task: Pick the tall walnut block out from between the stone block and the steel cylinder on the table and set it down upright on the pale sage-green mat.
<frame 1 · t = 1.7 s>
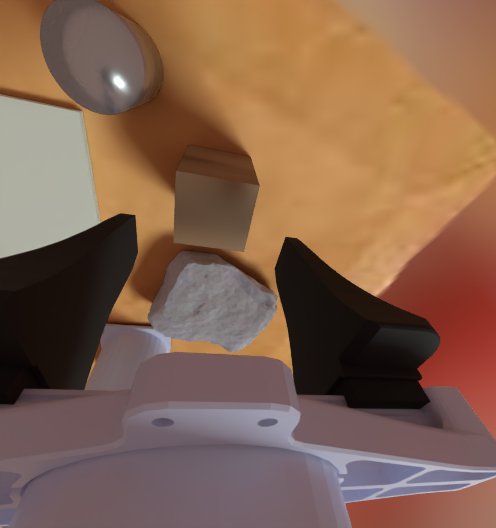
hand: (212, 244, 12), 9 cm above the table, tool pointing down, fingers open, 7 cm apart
steel cylinder: (128, 64, 15), on the table
walnut block: (216, 181, 19), on the table
stone block: (218, 289, 27), on the table
sage mat: (35, 223, 20), on the table
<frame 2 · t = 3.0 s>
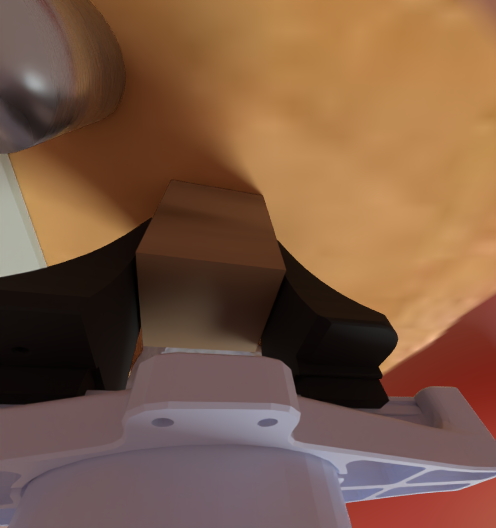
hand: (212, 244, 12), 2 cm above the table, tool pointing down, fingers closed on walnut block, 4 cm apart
steel cylinder: (65, 58, 9), on the table
walnut block: (213, 227, 13), on the table, touching gripper
stone block: (213, 352, 21), on the table
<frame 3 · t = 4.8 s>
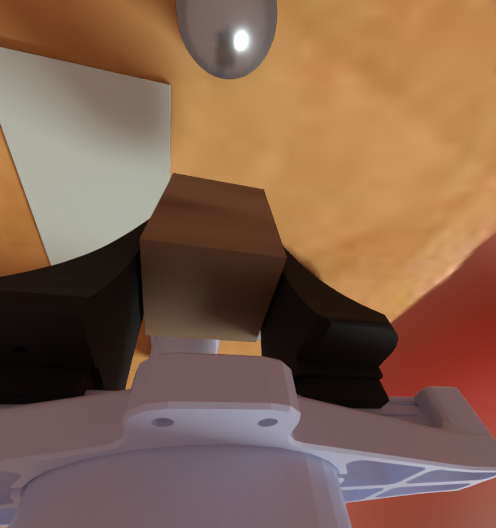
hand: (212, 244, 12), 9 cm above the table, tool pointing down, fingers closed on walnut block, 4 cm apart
steel cylinder: (226, 32, 14), on the table
walnut block: (214, 221, 14), point 7 cm above the table, touching gripper
sage mat: (104, 208, 20), on the table
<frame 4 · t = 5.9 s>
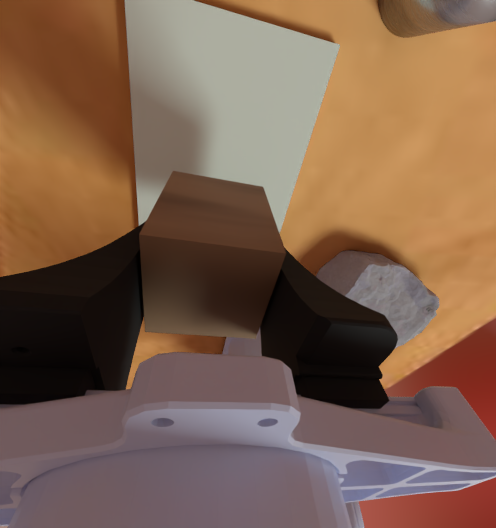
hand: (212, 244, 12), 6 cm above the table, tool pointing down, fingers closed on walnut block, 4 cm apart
walnut block: (214, 219, 14), point 4 cm above the table, touching gripper
stone block: (358, 292, 25), on the table
sage mat: (215, 196, 17), on the table
when the fingers open (3 cm above the table, at t = 6.8 s): walnut block stays where it is, resting on sage mat.
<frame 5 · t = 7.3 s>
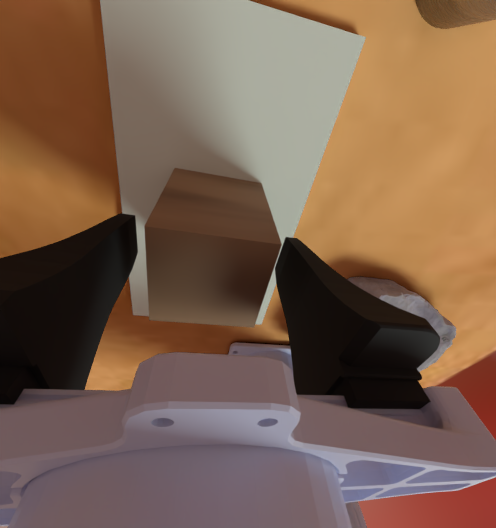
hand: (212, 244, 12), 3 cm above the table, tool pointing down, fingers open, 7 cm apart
walnut block: (214, 214, 14), resting on sage mat
stone block: (366, 317, 23), on the table
sage mat: (214, 214, 15), on the table
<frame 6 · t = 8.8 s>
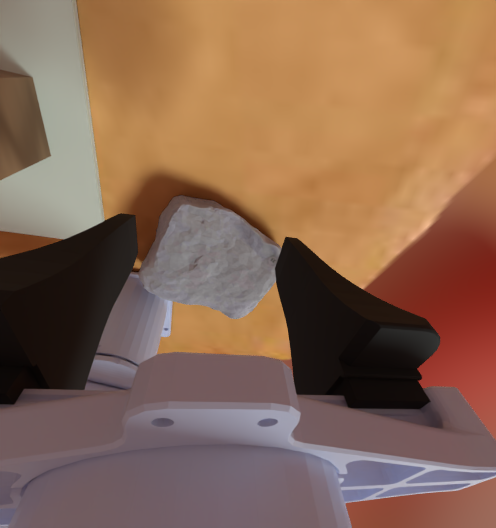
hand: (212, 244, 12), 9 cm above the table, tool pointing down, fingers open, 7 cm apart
walnut block: (2, 111, 16), resting on sage mat
stone block: (217, 247, 24), on the table
sage mat: (9, 114, 16), on the table
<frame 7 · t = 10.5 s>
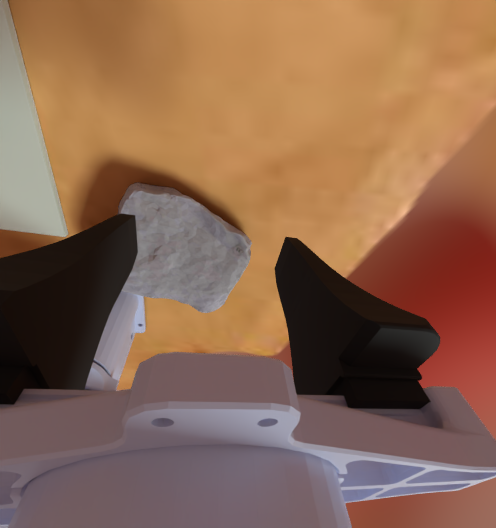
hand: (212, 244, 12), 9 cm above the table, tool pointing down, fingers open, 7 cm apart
stone block: (184, 238, 23), on the table
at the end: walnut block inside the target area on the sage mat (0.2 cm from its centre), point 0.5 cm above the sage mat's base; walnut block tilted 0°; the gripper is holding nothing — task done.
